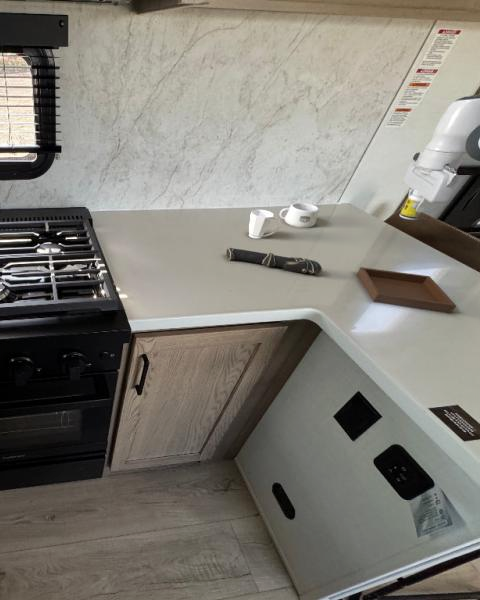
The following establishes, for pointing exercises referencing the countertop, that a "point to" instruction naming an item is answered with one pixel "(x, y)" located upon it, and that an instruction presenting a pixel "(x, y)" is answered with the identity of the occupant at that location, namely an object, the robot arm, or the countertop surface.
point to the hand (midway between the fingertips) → (413, 207)
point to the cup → (261, 223)
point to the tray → (405, 290)
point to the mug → (301, 215)
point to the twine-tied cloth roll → (275, 260)
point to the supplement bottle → (411, 207)
